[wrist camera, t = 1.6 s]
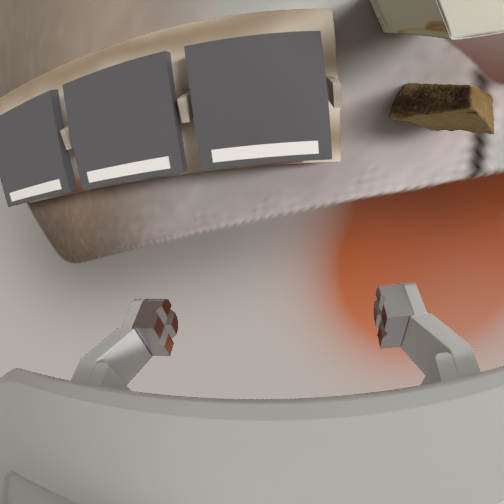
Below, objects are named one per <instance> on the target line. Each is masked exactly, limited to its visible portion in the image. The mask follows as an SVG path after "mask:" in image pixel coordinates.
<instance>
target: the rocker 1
mask: <svg viewBox="0 0 504 504" xmlns="http://www.w3.org/2000/svg"><path fill="white" fill-rule="evenodd" d="M62 129H64V124H63V119H62V113H61V106H60V99H59V92H58V89H55V90H49V91H47V92H45V93H43V94H41V95H38V96H36V97H34V98H32V99H30V100H28V101H26V102H24V103H22V104H20V105H18V106H16V107H15V108H13V109H11V110H9V111H7V112H5V113H3V114H2V115H0V178H1V182H2V186H3V189H4V193H5V197H6V200H7V204H8V206H9V207H11V206H14V205H18V204H22V203H26V202H30V201H34V200H38V199H42V198H47V197H51V196H55V195H60V194H64V193H69V192H72V191H73V190H75V189H77V185H76V181H75V177H74V173H73V168H72V164H71V160H70V155H69V150H66V147H65V145H64V142H63V139H62V136H61V133H60V131H61V130H62Z"/></svg>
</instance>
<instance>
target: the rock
mask: <svg viewBox="0 0 504 504" xmlns="http://www.w3.org/2000/svg"><path fill="white" fill-rule="evenodd" d="M492 103H493V99H492V96H491V95H490V94H489V93H486V92H484V91H482V90H481V89H479V88H477V87H472V86H469V85H450V84H449V85H442V84H441V85H438V84H417V83H408V84H406V85H405V87H404V88H403V89H402V91H401V92H400V94H399V95H398V97H397V98H396V100H395V102H394V104H393V107H392V112H391V115H390V119H391V121H402V122H403V121H405V122H412V123H414V124H417V125H421V126H423V127H426V128H428V129H430V130H435V131H439V130H449V131H454V130H465V131H469V132H473V133H489V134H494V123H493V121H494V116H493V106H492Z"/></svg>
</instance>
